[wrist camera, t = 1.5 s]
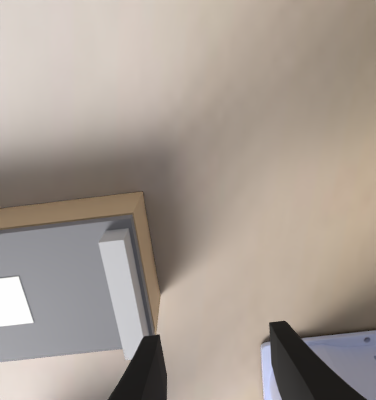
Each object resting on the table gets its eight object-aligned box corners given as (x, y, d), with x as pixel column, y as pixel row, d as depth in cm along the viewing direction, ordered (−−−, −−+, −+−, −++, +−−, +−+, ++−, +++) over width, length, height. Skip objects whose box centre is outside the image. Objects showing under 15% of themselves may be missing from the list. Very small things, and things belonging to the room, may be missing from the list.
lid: (132, 214, 17) (125, 229, 15) (155, 337, 19) (152, 364, 17) (-127, 245, 17) (-166, 263, 15) (-71, 362, 19) (-99, 391, 17)
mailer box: (142, 191, 21) (133, 212, 17) (160, 295, 23) (155, 334, 19) (-66, 216, 21) (-122, 242, 17) (-27, 316, 23) (-67, 358, 20)
